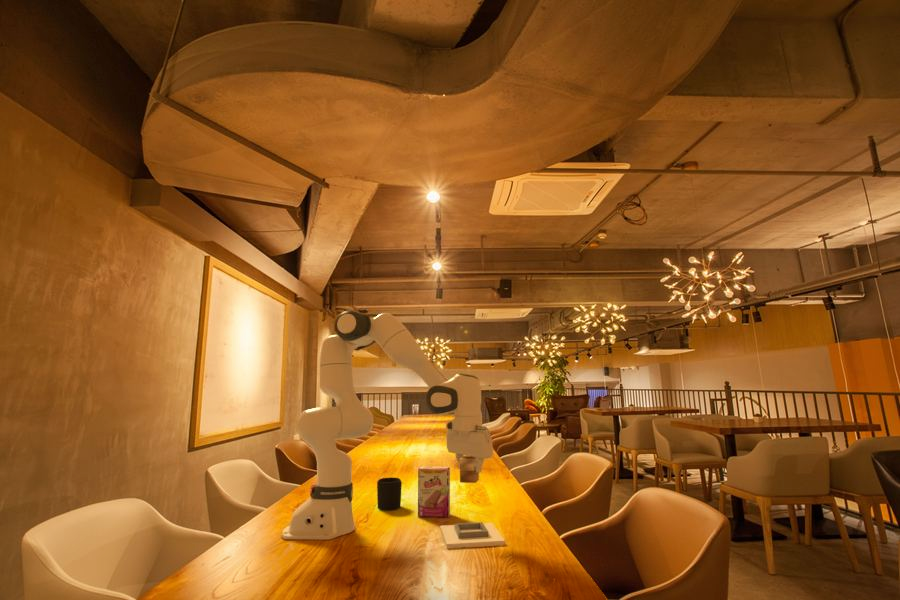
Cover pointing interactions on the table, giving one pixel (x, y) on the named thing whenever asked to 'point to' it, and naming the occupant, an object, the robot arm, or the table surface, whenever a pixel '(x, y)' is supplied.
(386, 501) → the pen holder
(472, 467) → the tan rectangular block
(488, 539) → the base plate
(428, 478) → the candy bar box
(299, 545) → the table surface
